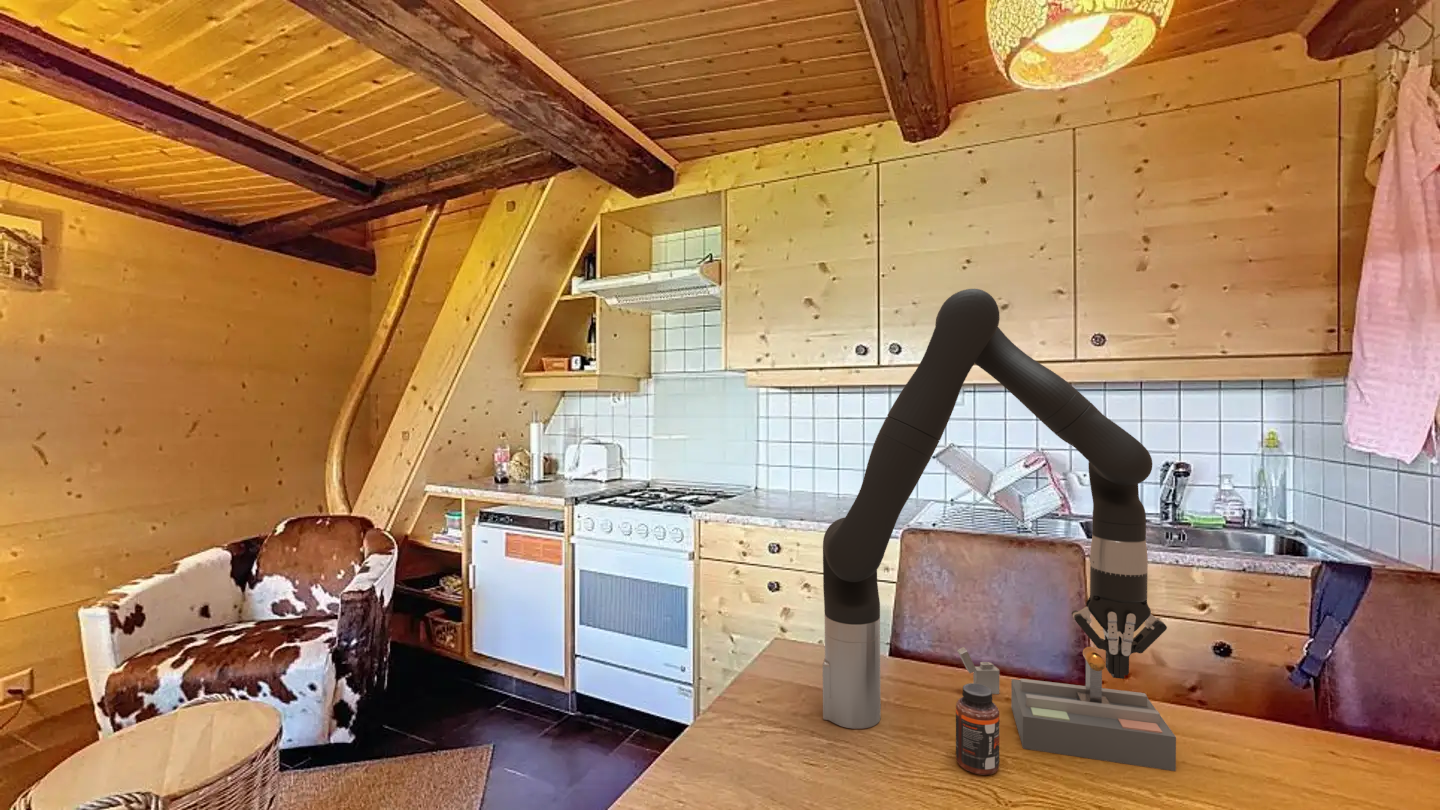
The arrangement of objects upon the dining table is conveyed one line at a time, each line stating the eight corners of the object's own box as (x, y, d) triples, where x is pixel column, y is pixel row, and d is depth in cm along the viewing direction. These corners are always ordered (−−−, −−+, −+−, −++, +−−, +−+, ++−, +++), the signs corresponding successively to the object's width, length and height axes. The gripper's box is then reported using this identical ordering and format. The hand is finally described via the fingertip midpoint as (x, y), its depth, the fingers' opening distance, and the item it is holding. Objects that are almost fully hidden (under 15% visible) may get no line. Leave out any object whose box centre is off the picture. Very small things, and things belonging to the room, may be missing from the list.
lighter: (995, 689, 115) (995, 646, 115) (999, 694, 114) (999, 650, 114) (956, 689, 116) (956, 646, 115) (960, 694, 114) (960, 650, 114)
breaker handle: (1082, 709, 98) (1082, 655, 98) (1076, 697, 102) (1076, 645, 101) (1111, 713, 97) (1111, 658, 96) (1104, 700, 100) (1104, 648, 100)
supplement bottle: (1004, 779, 89) (1003, 700, 89) (959, 775, 90) (959, 697, 90) (994, 755, 95) (994, 681, 94) (952, 751, 96) (952, 678, 96)
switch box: (1022, 748, 96) (1022, 706, 96) (1011, 707, 109) (1011, 669, 109) (1175, 771, 90) (1176, 726, 90) (1145, 725, 103) (1145, 685, 103)
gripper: (1075, 569, 96) (1075, 681, 96) (1177, 576, 92) (1176, 693, 92) (1065, 556, 103) (1064, 661, 104) (1159, 562, 99) (1158, 671, 99)
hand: (1117, 676), depth 98 cm, fingers closed
